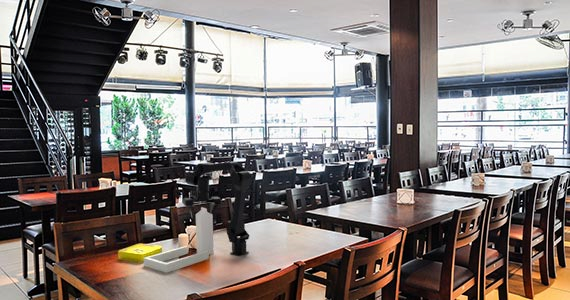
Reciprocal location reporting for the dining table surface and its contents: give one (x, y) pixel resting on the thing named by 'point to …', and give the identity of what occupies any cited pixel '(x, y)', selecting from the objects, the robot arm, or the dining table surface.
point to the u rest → (157, 259)
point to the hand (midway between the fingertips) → (201, 217)
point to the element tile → (139, 252)
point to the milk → (204, 231)
